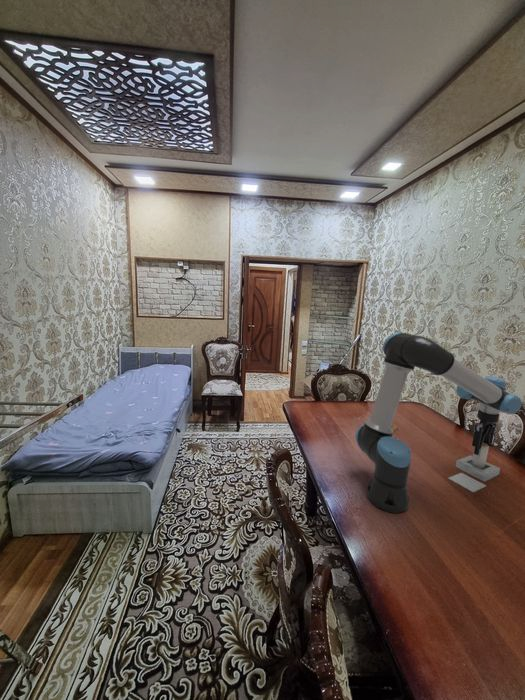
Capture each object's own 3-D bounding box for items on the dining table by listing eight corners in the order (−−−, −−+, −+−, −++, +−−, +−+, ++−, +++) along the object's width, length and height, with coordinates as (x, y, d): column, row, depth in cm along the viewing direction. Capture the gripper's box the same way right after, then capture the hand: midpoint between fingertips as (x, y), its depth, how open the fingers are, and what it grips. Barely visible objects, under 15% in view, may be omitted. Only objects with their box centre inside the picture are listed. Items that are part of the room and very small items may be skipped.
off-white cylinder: (480, 473, 128) (485, 447, 125) (468, 467, 132) (473, 442, 130) (486, 471, 130) (491, 445, 128) (473, 465, 134) (479, 440, 132)
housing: (484, 481, 123) (486, 474, 122) (455, 467, 133) (456, 460, 133) (498, 475, 128) (500, 468, 128) (469, 461, 139) (471, 455, 138)
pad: (473, 492, 115) (473, 491, 115) (448, 478, 124) (448, 477, 124) (486, 486, 120) (486, 485, 120) (461, 473, 129) (461, 472, 129)
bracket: (387, 438, 159) (389, 427, 158) (373, 433, 165) (374, 422, 164) (399, 429, 172) (401, 418, 171) (385, 425, 178) (387, 414, 176)
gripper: (487, 417, 119) (477, 468, 123) (509, 411, 127) (498, 459, 131) (468, 410, 125) (459, 459, 129) (489, 406, 133) (480, 451, 137)
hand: (479, 459), depth 130 cm, fingers closed on off-white cylinder, 5 cm apart
